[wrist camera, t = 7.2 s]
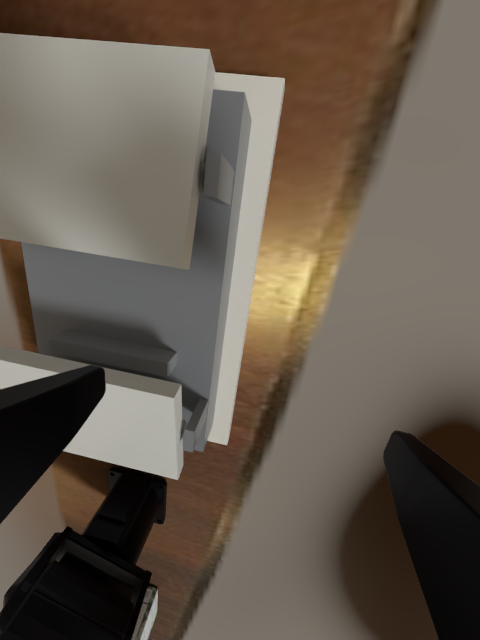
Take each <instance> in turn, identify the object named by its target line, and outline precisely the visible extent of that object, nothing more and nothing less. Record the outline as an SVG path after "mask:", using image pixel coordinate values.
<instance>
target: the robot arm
mask: <svg viewBox="0 0 480 640" xmlns="http://www.w3.org/2000/svg"><path fill="white" fill-rule="evenodd" d="M105 391H106V381H105V370H104V368H102V367H99V366H94V365H88V366H85V367H81V368H77V369H74V370H70V371H66V372H63V373H59V374H55V375H51V376H48V377H44V378H40V379H37V380H33V381H29V382H26V383H22V384H18V385H14V386H11V387H7V388H3V389H0V523H2V521H3V520H4V519H5V518H6V517H7V516H8V514H9V513H10V512H11V511H12V510H13V508H14V507H15V506H16V505H17V504H18V503H19V502H20V500H21V499H22V498H23V497H24V496H25V495H26V493H27V492H28V491H29V490H30V489H31V488H32V486H33V485H34V484H35V483H36V482H37V481H38V479H39V478H40V477H41V476H42V475H43V474H44V472H45V471H46V470H47V469H48V468H49V467H50V465H51V464H52V463H53V462H54V461H55V460H56V458H57V457H58V456H59V455H60V454H61V453H62V451H63V450H64V449H65V448H66V447H67V446H68V444H69V443H70V442H71V441H72V439H73V438H74V437H75V436H76V434H77V433H78V432H79V430H80V429H81V427H82V426H83V425H84V423H85V422H86V420H87V419H88V418H89V416H90V415H91V413H92V412H93V410H94V409H95V408H96V406H97V405H98V403H99V402H100V401H101V399H102V398H103V396H104V394H105ZM383 457H384V463H385V467H386V472H387V475H388V480H389V484H390V488H391V492H392V496H393V501H394V505H395V509H396V513H397V517H398V520H399V523H400V526H401V529H402V532H403V535H404V538H405V541H406V544H407V547H408V550H409V553H410V556H411V559H412V562H413V565H414V568H415V571H416V574H417V577H418V579H419V583H420V585H421V588H422V591H423V594H424V597H425V600H426V603H427V606H428V609H429V612H430V615H431V618H432V621H433V624H434V627H435V630H436V633H437V635H438V639H439V640H480V486H478V485H477V484H476V483H474V482H473V481H472V480H471V479H469V478H468V477H467V476H465V475H464V474H463V473H461V472H460V471H459V470H458V469H456V468H455V467H454V466H452V465H451V464H450V463H449V462H447V461H446V460H445V459H443V458H442V457H441V456H439V455H438V454H437V453H436V452H434V451H433V450H432V449H430V448H429V447H428V446H426V445H425V444H423V442H421V441H420V440H419V439H417V438H416V437H415V436H413V435H412V434H410V433H406V432H402V431H394V432H393V433H392V435H391V437H390V439H389V441H388V443H387V446H386V448H385V450H384V456H383ZM108 484H109V494H108V495H107V497H106V498H105V500H104V501H103V503H102V504H101V506H100V507H99V509H98V510H97V512H96V513H95V515H94V516H93V518H92V519H91V521H90V522H89V524H88V525H87V527H86V528H85V530H84V531H83V533H82V534H81V535H80V534H78V533H76V532H74V531H73V529H72V528H70V527H68V526H67V527H66V529H65V530H64V531H63V532H62V533H55V534H54V535H53V536H52V538H51V539H50V540H49V542H48V543H47V544H46V546H45V547H44V548H43V550H42V551H41V552H40V553H39V554H38V556H37V557H36V558H35V559H34V561H33V562H32V563H31V564H30V565H29V566H28V567H27V568H26V570H25V571H24V572H23V573H22V574H21V576H20V577H19V578H18V579H17V580H16V581H15V582H14V584H13V585H12V586H11V587H10V588H9V590H8V591H7V592H6V594H5V596H4V602H3V603H4V604H3V609H2V611H1V612H0V640H131V639H132V636H133V633H134V630H135V627H136V623H137V620H138V617H139V614H140V610H141V607H142V604H143V601H144V597H145V594H146V591H147V588H148V584H149V581H150V578H151V575H152V573H151V572H150V571H148V570H146V571H145V570H143V569H141V568H139V567H138V566H136V563H137V560H138V558H139V556H140V553H141V551H142V549H143V547H144V544H145V542H146V540H147V537H148V535H149V533H150V531H151V528H152V526H153V524H154V523H157V524H163V523H164V520H165V512H166V494H167V483H166V481H164V480H161V479H157V478H153V477H149V476H145V475H141V474H137V473H133V472H129V471H126V470H122V469H118V468H111V469H110V470H109V471H108Z"/></svg>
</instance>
